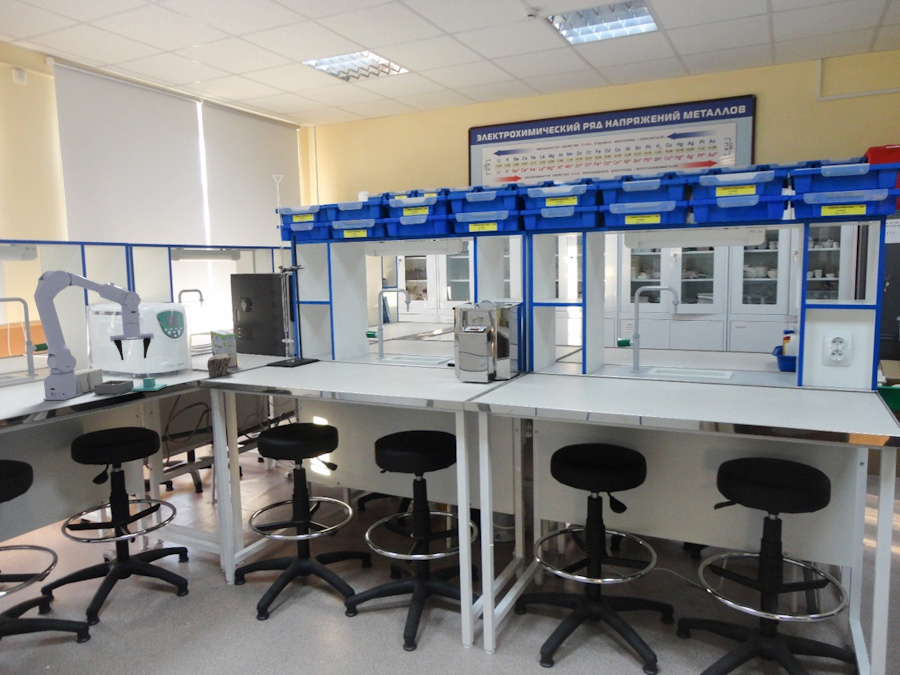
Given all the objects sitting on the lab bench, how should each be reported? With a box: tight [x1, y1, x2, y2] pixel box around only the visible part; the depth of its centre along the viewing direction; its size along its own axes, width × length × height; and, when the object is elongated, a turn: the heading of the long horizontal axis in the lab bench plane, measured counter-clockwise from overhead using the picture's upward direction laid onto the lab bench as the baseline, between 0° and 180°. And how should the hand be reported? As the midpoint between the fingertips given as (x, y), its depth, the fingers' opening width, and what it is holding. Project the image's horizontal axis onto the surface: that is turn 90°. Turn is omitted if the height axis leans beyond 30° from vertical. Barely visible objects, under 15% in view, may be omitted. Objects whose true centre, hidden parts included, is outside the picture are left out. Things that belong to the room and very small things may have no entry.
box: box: [94, 379, 135, 395], centre depth 229 cm, size 9×9×4 cm
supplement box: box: [74, 368, 104, 394], centre depth 232 cm, size 7×7×13 cm
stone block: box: [206, 354, 231, 377], centre depth 265 cm, size 14×9×8 cm, turn 13°
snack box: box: [209, 329, 238, 368], centre depth 290 cm, size 21×6×15 cm, turn 37°
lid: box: [130, 377, 168, 392], centre depth 233 cm, size 9×9×4 cm
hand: (133, 359), depth 239 cm, fingers open, 7 cm apart
